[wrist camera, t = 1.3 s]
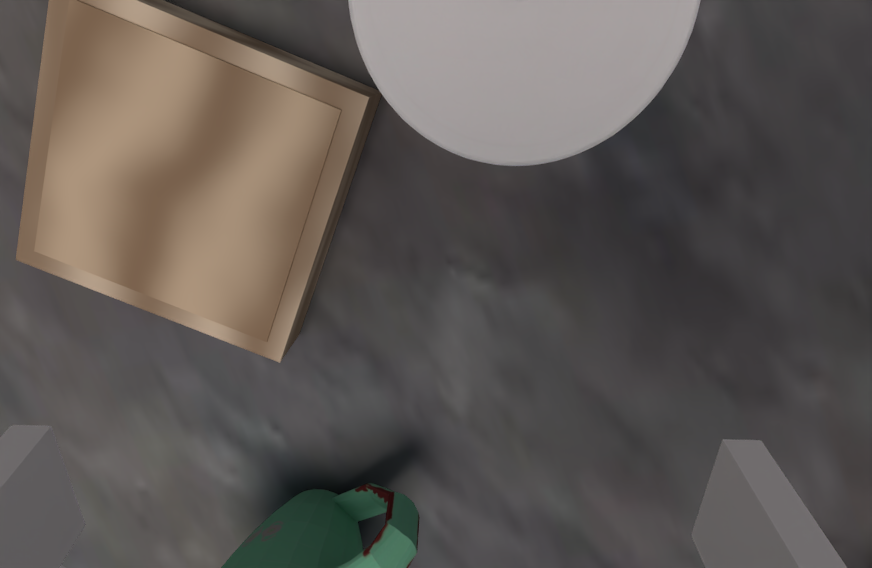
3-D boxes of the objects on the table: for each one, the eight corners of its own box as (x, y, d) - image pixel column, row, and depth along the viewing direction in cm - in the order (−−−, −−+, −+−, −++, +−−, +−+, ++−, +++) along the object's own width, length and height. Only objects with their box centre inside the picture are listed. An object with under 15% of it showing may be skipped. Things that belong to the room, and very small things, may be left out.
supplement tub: (482, 157, 32) (472, 241, 18) (368, -2, 30) (259, -43, 16) (648, 36, 29) (783, 29, 15) (537, -150, 27) (579, -351, 13)
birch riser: (382, 91, 31) (368, 97, 28) (299, 334, 37) (279, 363, 33) (100, -27, 30) (50, -35, 27) (59, 240, 36) (13, 260, 32)
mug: (326, 593, 44) (281, 738, 35) (223, 509, 42) (146, 640, 33) (476, 488, 40) (470, 624, 30) (368, 388, 38) (326, 501, 28)
